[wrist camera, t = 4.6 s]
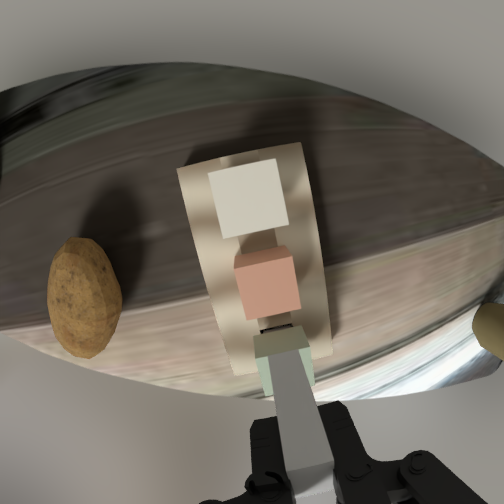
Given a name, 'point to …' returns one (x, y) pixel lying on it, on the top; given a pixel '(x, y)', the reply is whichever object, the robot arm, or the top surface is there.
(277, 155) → the board
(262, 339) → the block sage
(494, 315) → the squeeze bottle
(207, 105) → the top surface
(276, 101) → the top surface
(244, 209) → the block cream
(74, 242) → the potato
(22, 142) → the top surface
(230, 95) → the top surface
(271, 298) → the block terracotta
